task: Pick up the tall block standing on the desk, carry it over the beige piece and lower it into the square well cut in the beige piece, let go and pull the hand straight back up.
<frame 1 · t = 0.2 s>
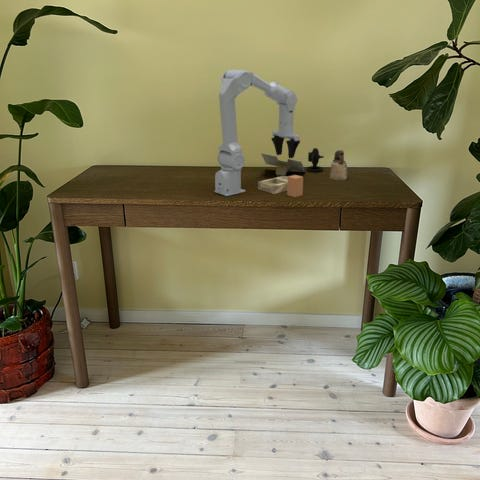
hand: (285, 156, 197), 10 cm above the table, tool pointing down, fingers open, 7 cm apart
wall: (282, 175, 209), on the table
figurine: (338, 179, 203), on the table
webcam: (314, 171, 216), on the table
beige piece: (279, 188, 189), on the table
block: (294, 195, 181), on the table
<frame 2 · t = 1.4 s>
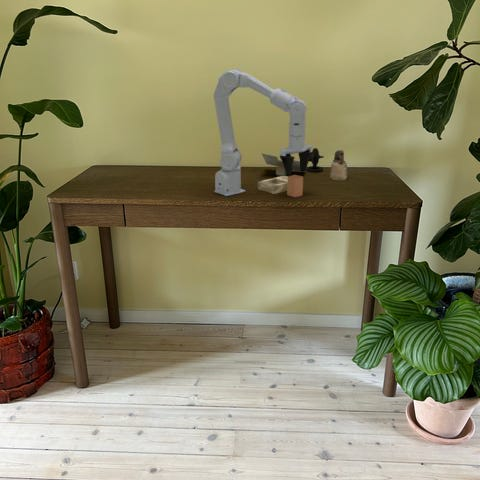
hand: (295, 172, 177), 8 cm above the table, tool pointing down, fingers open, 7 cm apart
nothing on the table moved.
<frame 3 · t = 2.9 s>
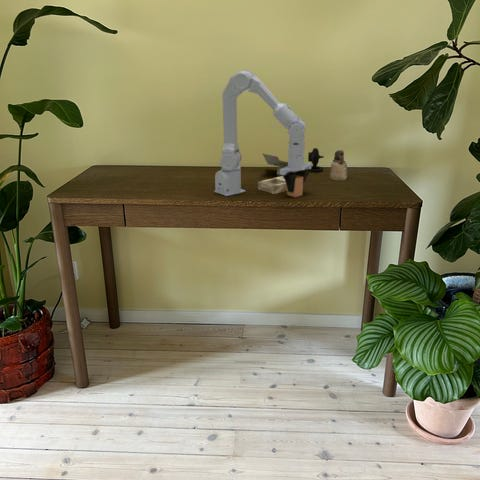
hand: (295, 190, 180), 2 cm above the table, tool pointing down, fingers closed on block, 4 cm apart
block: (294, 195, 181), on the table, touching gripper
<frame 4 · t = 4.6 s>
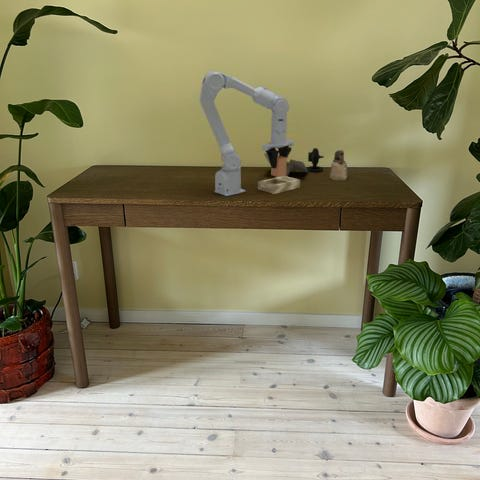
hand: (278, 166, 184), 9 cm above the table, tool pointing down, fingers closed on block, 4 cm apart
block: (278, 175, 185), point 6 cm above the table, touching gripper
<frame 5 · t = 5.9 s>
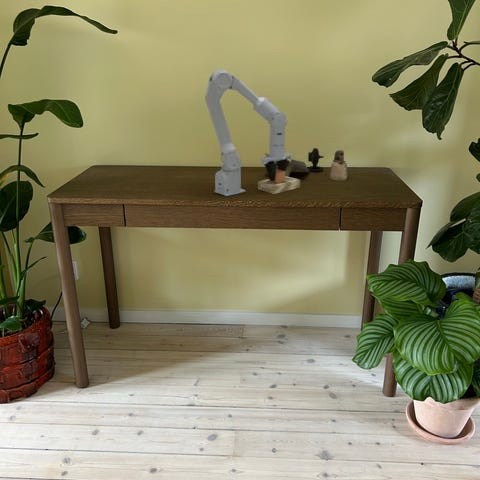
hand: (276, 179, 187), 4 cm above the table, tool pointing down, fingers closed on block, 4 cm apart
block: (276, 188, 188), resting in beige piece, touching gripper
when the fingers open (4 cm above the table, at t = 6.5 s): block stays where it is, resting in beige piece.
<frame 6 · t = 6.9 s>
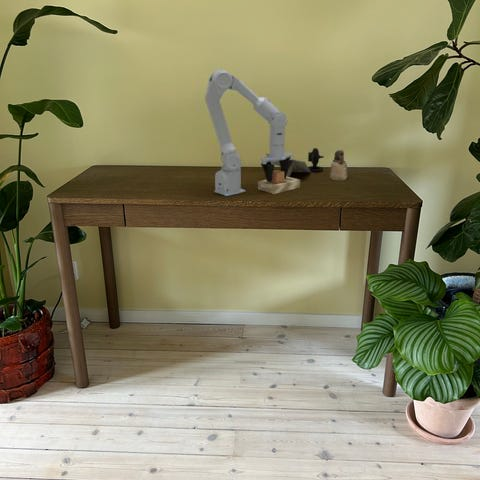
hand: (276, 179, 187), 4 cm above the table, tool pointing down, fingers open, 7 cm apart
block: (276, 189, 188), resting in beige piece
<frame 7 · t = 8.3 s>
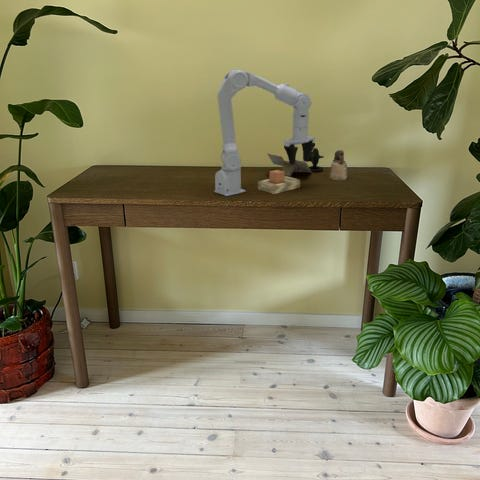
hand: (299, 162, 186), 10 cm above the table, tool pointing down, fingers open, 7 cm apart
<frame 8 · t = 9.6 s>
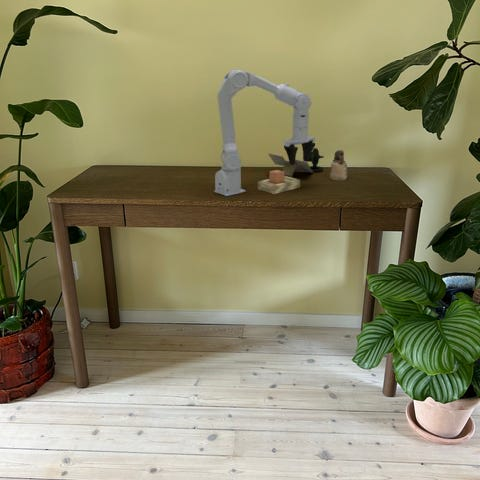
hand: (299, 162, 186), 10 cm above the table, tool pointing down, fingers open, 7 cm apart
at the end: block 0.2 cm from the target spot on the beige piece, point 0.0 cm above the beige piece's base; block tilted 0°; the gripper is holding nothing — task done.
